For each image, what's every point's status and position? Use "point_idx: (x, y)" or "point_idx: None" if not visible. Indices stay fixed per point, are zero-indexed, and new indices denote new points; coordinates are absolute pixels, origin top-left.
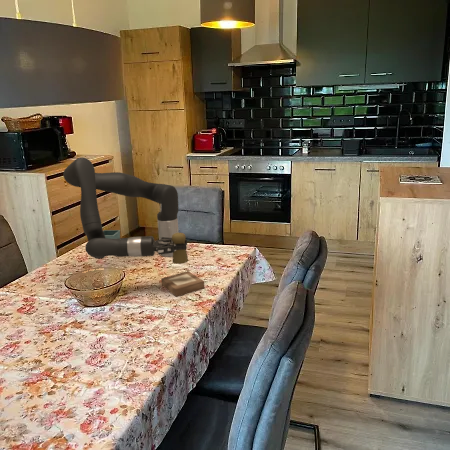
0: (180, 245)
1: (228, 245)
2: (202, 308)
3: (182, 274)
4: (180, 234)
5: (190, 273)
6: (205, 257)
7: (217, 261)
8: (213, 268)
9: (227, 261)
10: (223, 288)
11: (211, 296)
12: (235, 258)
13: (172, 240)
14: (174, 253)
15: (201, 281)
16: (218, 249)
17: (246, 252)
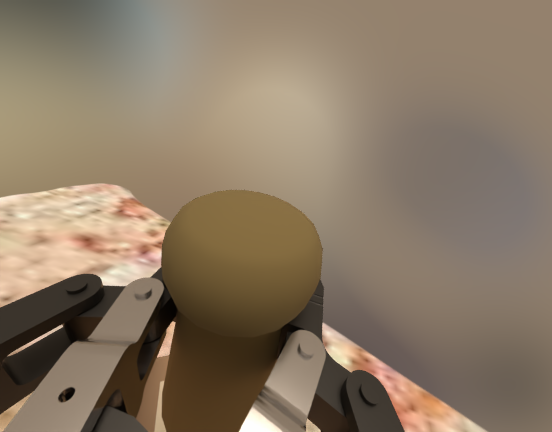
0: (314, 303)
1: (22, 194)
2: (421, 413)
3: (145, 407)
4: (292, 210)
5: (166, 361)
6: (14, 258)
7: (95, 248)
8: (134, 274)
9: (124, 234)
10: None
11: (333, 351)
12: (125, 218)
13: (243, 333)
14: (252, 405)
15: None
16: (10, 215)
17: (117, 196)
